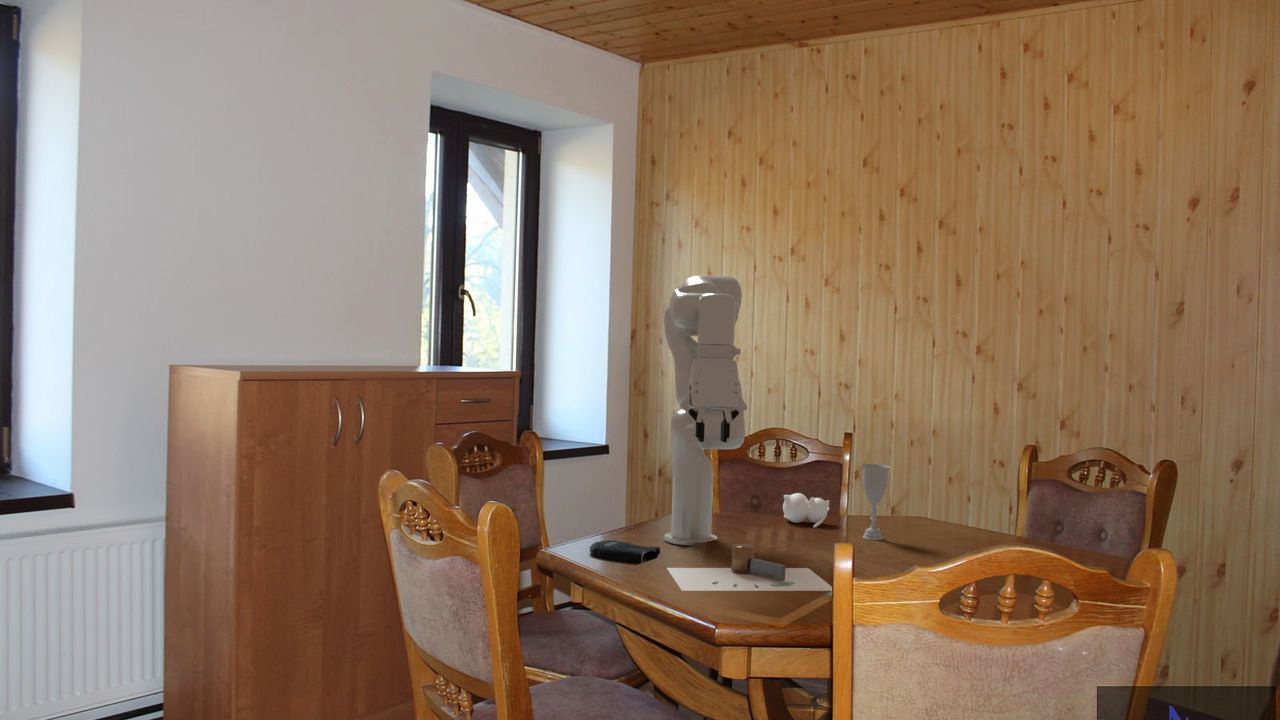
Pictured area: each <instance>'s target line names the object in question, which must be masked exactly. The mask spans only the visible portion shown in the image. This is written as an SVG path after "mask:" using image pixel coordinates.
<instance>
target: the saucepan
mask: <svg viewBox="0 0 1280 720" xmlns="http://www.w3.org/2000/svg"><path fill="white" fill-rule="evenodd" d="M754 554H755V546H754V545H751V544H748V543H735V544H732V547H731V567H730V568H731V570H732V571H733V572H736V573H750V574H754V575H758V576H762V577H766V578H770V579H774V580H778V581H785V568H786V565H785V564H780V563H777V562H772V561H768V560H764V559H760V558H757V557H756V558H755V557H754V556H755V555H754Z"/></svg>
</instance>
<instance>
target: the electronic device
mask: <svg viewBox="0 0 1280 720" xmlns="http://www.w3.org/2000/svg"><path fill="white" fill-rule="evenodd" d="M589 552H590V555H592V556H593V557H595V558H600V559H607V560H610V559H612V560H613V561H618V562H619V561H621V562H626V563H627V562H629V563H635V564H637V563H639V564H643V560H645V559H646V560H645V561H644V563H647V562H650V561H651V560H655V559H657V558H658V557H659V555H660V554H661V547H660V545H657V546H653V545H651V546H645V545H636V544H632V543H629V542H625V541H620V540H611V539H610V540H609V539H608V540H607V539H606V540H600V541H596V542H594V543H591V545H590V546H589Z"/></svg>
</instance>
